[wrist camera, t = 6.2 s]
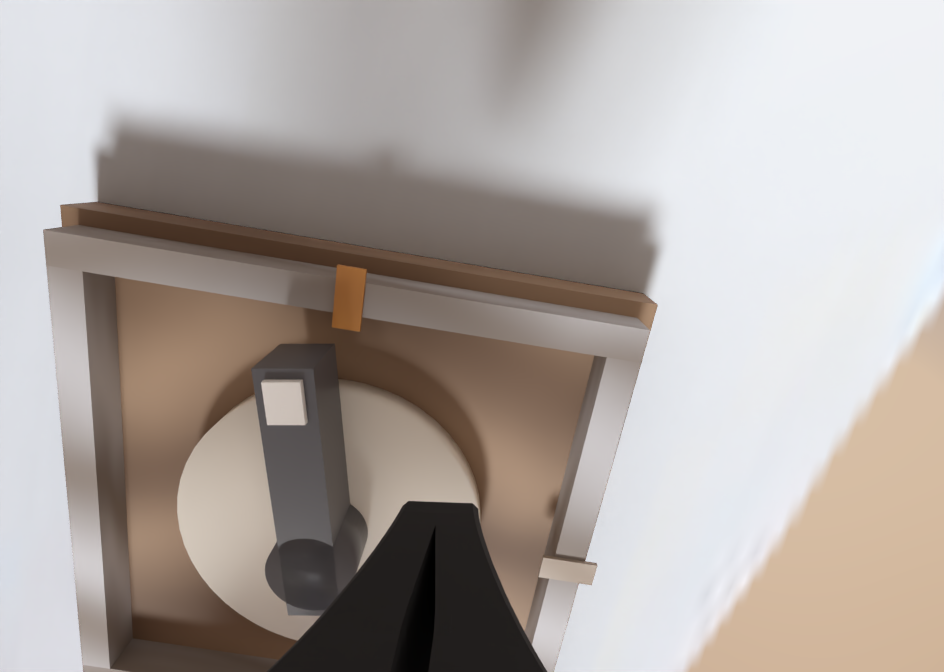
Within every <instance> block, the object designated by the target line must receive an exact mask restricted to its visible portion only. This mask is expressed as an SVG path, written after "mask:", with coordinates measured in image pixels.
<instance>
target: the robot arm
mask: <svg viewBox="0 0 944 672" xmlns="http://www.w3.org/2000/svg"><path fill="white" fill-rule="evenodd" d="M267 672H547V670H546V669H545V667H544V665H543V664H542V662H541V660H540V659H539V657H538V655H537V653H536V652H535V650H534V648H533V646H532V645H531V643H530V641H529V639H528V637H527V635H526V633H525V632H524V630H523V628H522V626H521V624H520V622H519V620H518V618H517V616H516V614H515V612H514V610H513V608H512V606H511V604H510V602H509V599H508V597H507V595H506V593H505V591H504V589H503V586H502V584H501V581H500V579H499V577H498V574H497V572H496V570H495V567H494V565H493V562H492V559H491V557H490V554H489V551H488V548H487V545H486V542H485V539H484V536H483V532H482V529H481V524H480V519H479V513H478V508H477V507H476V506H475V505H474V504H473V503H453V502H424V501H408V502H407V503H405V504H404V505H403V506H402V508H401V510H400V511H399V513H398V515H397V516H396V518H395V519H394V521H393V523H392V524H391V526H390V527H389V529H388V530H387V532H386V533H385V535H384V536H383V538H382V539H381V540H380V542H379V543H378V545H377V546H376V548H375V549H374V550H373V552H372V553H371V554H370V556H369V557H368V558H367V560H366V561H365V562H364V564H363V565H362V566H361V568H360V569H359V570H358V572H357V573H356V574H355V575H354V577H353V578H352V579H351V581H350V582H349V583H348V584H347V585H346V587H345V588H344V589H343V590H342V591H341V593H340V594H339V595H338V596H337V597H336V598H335V600H334V601H333V602H332V603H331V604H330V605H329V607H328V608H327V609H326V610H325V611H324V612H323V614H322V615H321V616H320V617H319V618H318V619H317V620H316V622H315V623H314V624H313V625H312V626H311V627H310V628H309V629H308V630H307V631H306V632H305V633H304V634H303V636H302V637H301V638H300V639H299V640H298V641H297V642H296V643H295V644H294V645H293V646H292V647H291V648H290V649H289V650H288V651H287V652H286V653H285V654H284V655H283V656H282V657H281V658H280V659H279V660H278V661H277V662H276V663H275V664H274V665H273V666H272V667H271V668H270V669H269V670H268V671H267Z"/></svg>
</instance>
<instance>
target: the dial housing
mask: <svg viewBox="0 0 944 672" xmlns="http://www.w3.org/2000/svg"><path fill="white" fill-rule="evenodd" d="M60 207H61V219H62V227H60V228H52V229H45V230H43V233H44V244H45V255H46V266H47V277H48V288H49V299H50V310H51V321H52V333H53V344H54V355H55V366H56V377H57V388H58V399H59V410H60V421H61V432H62V443H63V454H64V465H65V476H66V487H67V498H68V509H69V520H70V531H71V542H72V553H73V564H74V575H75V586H76V597H77V608H78V619H79V630H80V641H81V652H82V663H83V672H267V671H268V670H269V669H270V668H271V667H272V666H273V665H274V664H275V663H276V662H277V661H278V660H279V659H280V658H281V657H282V656H283V655H284V654H285V653H286V652H287V651H288V650H289V649H290V648H291V647H292V646H293V645H294V644H295V643H296V642H297V641H298V640H294V639H290V638H287V637H284V636H282V635H279V634H276V633H274V632H271V631H269V630H267V629H265V628H263V627H261V626H259V625H257V624H255V623H253V622H251V621H250V620H248V619H247V618H245V617H244V616H242V615H240V614H239V613H238V612H236V611H235V610H234V609H232V608H231V607H230V606H229V605H227V604H226V603H225V602H224V601H223V600H222V599H221V598H220V597H219V596H218V595H217V594H216V593H215V592H214V591H213V590H212V589H211V588H210V587H209V586H208V584H207V583H206V582H205V581H204V579H203V578H202V577H201V576H200V574H199V572H198V571H197V569H196V568H195V566H194V564H193V563H192V561H191V559H190V557H189V555H188V552H187V550H186V548H185V546H184V543H183V539H182V536H181V532H180V529H179V522H178V515H177V495H178V489H179V484H180V479H181V476H182V473H183V470H184V467H185V464H186V462H187V460H188V458H189V457H190V455H191V453H192V451H193V449H194V448H195V446H196V445H197V444H198V443H199V441H200V440H201V439H202V437H203V436H204V435H205V434H206V433H207V432H208V431H209V430H210V429H211V428H212V427H213V426H214V425H215V424H216V423H217V422H218V421H220V420H221V419H222V418H223V417H224V416H225V415H226V414H227V413H228V412H229V411H230V410H231V409H232V408H233V407H235V406H236V405H238V404H239V403H241V402H242V401H244V400H245V399H247V398H248V397H250V396H252V395H254V394H255V392H254V385H253V378H252V372H251V368H252V367H254V366H255V365H256V364H257V363H258V362H259V361H261V360H262V359H263V358H264V357H265V356H267V355H268V354H269V353H270V352H271V351H272V350H274V349H275V348H276V347H277V346H278V345H279V344H335V350H336V361H337V371H338V379H344V380H349V381H355V382H360V383H365V384H368V385H371V386H375V387H378V388H381V389H384V390H386V391H389V392H391V393H393V394H395V395H398V396H400V397H402V398H404V399H405V400H407V401H409V402H411V403H412V404H414V405H416V406H417V407H419V408H420V409H422V410H423V411H424V412H425V413H427V414H428V415H429V416H431V417H432V418H433V419H435V420H436V421H437V422H438V423H439V424H440V425H441V426H442V427H443V428H444V429H445V430H446V431H447V432H448V433H449V435H450V436H451V437H452V439H453V440H454V441H455V442H456V444H457V445H458V446H459V448H460V449H461V451H462V453H463V454H464V456H465V458H466V460H467V461H468V463H469V465H470V468H471V470H472V473H473V475H474V478H475V481H476V485H477V489H478V493H479V500H480V524H481V529H482V532H483V536H484V539H485V542H486V545H487V548H488V551H489V554H490V557H491V559H492V562H493V565H494V567H495V570H496V572H497V574H498V577H499V579H500V581H501V584H502V586H503V589H504V591H505V593H506V595H507V597H508V599H509V602H510V604H511V606H512V608H513V610H514V612H515V614H516V616H517V618H518V620H519V622H520V624H521V626H522V628H523V630H524V632H525V633H526V635H527V637H528V639H529V641H530V643H531V645H532V646H533V648H534V650H535V652H536V653H537V655H538V657H539V659H540V660H541V662H542V664H543V665H544V667H545V669H546V670H547V672H554V669H555V665H556V662H557V658H558V655H559V651H560V648H561V644H562V640H563V637H564V633H565V630H566V626H567V623H568V619H569V616H570V612H571V609H572V605H573V602H574V598H575V595H576V591H577V588H578V584H579V583H581V584H587V585H592V582H593V579H594V575H595V572H596V568H597V563H592V562H585V559H586V556H587V552H588V549H589V545H590V542H591V538H592V535H593V531H594V528H595V524H596V521H597V517H598V514H599V510H600V506H601V503H602V499H603V496H604V492H605V489H606V485H607V482H608V478H609V475H610V471H611V468H612V464H613V461H614V457H615V454H616V450H617V447H618V443H619V439H620V436H621V432H622V429H623V425H624V422H625V418H626V415H627V411H628V408H629V404H630V401H631V397H632V394H633V390H634V387H635V383H636V380H637V376H638V372H639V369H640V365H641V362H642V358H643V355H644V351H645V348H646V344H647V341H648V337H649V334H650V330H651V327H652V323H653V320H654V316H655V313H656V309H657V304H656V303H655V302H653V301H652V300H651V299H650V298H648V297H647V296H646V295H645V294H643V293H637V292H631V291H625V290H619V289H613V288H607V287H601V286H595V285H589V284H583V283H577V282H571V281H565V280H559V279H554V278H548V277H542V276H536V275H530V274H524V273H518V272H512V271H506V270H500V269H494V268H488V267H482V266H476V265H470V264H464V263H458V262H452V261H446V260H440V259H434V258H428V257H422V256H416V255H410V254H404V253H398V252H392V251H386V250H380V249H374V248H369V247H363V246H357V245H351V244H345V243H339V242H333V241H327V240H321V239H315V238H309V237H303V236H297V235H291V234H285V233H279V232H273V231H267V230H261V229H255V228H249V227H243V226H237V225H231V224H225V223H219V222H213V221H207V220H201V219H195V218H189V217H183V216H178V215H172V214H166V213H160V212H154V211H148V210H142V209H136V208H130V207H124V206H118V205H112V204H106V203H100V202H90V203H78V204H66V205H60Z"/></svg>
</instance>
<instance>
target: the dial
mask: <svg viewBox="0 0 944 672" xmlns="http://www.w3.org/2000/svg"><path fill="white" fill-rule="evenodd" d="M251 372H252V378H253V385H254V392H255V394H254V395H252V396H250V397H248V398H247V399H245V400H244V401H242V402H241V403H239V404H238V405H236V406H235V407H233V408H232V409H231V410H230V411H229V412H228V413H227V414H226V415H225V416H224V417H223V418H222V419H221V420H220V421H218V422H217V423H216V424H215V425H214V426H213V427H212V428H211V429H210V430H209V431H208V432H207V433H206V434H205V435H204V436H203V437H202V439H201V440H200V441H199V443H198V444H197V445H196V446H195V448H194V449H193V451H192V453H191V455H190V457H189V458H188V460H187V462H186V464H185V467H184V470H183V473H182V476H181V479H180V484H179V489H178V495H177V515H178V522H179V529H180V532H181V536H182V539H183V543H184V546H185V548H186V550H187V552H188V555H189V557H190V559H191V561H192V563H193V564H194V566H195V568H196V569H197V571H198V572H199V574H200V576H201V577H202V578H203V579H204V581H205V582H206V583H207V584H208V586H209V587H210V588H211V589H212V590H213V591H214V592H215V593H216V594H217V595H218V596H219V597H220V598H221V599H222V600H223V601H224V602H225V603H226V604H227V605H229V606H230V607H231V608H232V609H234V610H235V611H236V612H238V613H239V614H240V615H242V616H244V617H245V618H247V619H248V620H250V621H251V622H253V623H255V624H257V625H259V626H261V627H263V628H265V629H267V630H269V631H271V632H274V633H276V634H279V635H282V636H284V637H287V638H290V639H294V640H299V639H300V638H301V637H302V636H303V634H304V633H305V632H306V631H307V630H308V629H309V628H310V627H311V626H312V625H313V624H314V623H315V622H316V620H317V619H318V618H319V617H320V616H321V615H322V614H323V612H324V611H325V610H326V609H327V608H328V607H329V605H330V604H331V603H332V602H333V601H334V600H335V598H336V597H337V596H338V595H339V594H340V593H341V591H342V590H343V589H344V588H345V587H346V585H347V584H348V583H349V582H350V581H351V579H352V578H353V577H354V575H355V574H356V573H357V572H358V570H359V569H360V568H361V566H362V565H363V564H364V562H365V561H366V560H367V558H368V557H369V556H370V554H371V553H372V552H373V550H374V549H375V548H376V546H377V545H378V543H379V542H380V540H381V539H382V538H383V536H384V535H385V533H386V532H387V530H388V529H389V527H390V526H391V524H392V523H393V521H394V519H395V518H396V516H397V515H398V513H399V511H400V510H401V508H402V506H403V505H404V504H405V503H407V502H408V501H424V502H453V503H473V504H474V505H475V506H476V507H477V508H478V513H479V519H480V500H479V493H478V489H477V485H476V481H475V478H474V475H473V473H472V470H471V468H470V465H469V463H468V461H467V460H466V458H465V456H464V454H463V453H462V451H461V449H460V448H459V446H458V445H457V444H456V442H455V441H454V440H453V439H452V437H451V436H450V435H449V433H448V432H447V431H446V430H445V429H444V428H443V427H442V426H441V425H440V424H439V423H438V422H437V421H436V420H435V419H433V418H432V417H431V416H429V415H428V414H427V413H425V412H424V411H423V410H422V409H420V408H419V407H417V406H416V405H414V404H412V403H411V402H409V401H407V400H405V399H404V398H402V397H400V396H398V395H395V394H393V393H391V392H389V391H386V390H384V389H381V388H378V387H375V386H371V385H368V384H365V383H360V382H355V381H349V380H344V379H338V371H337V361H336V350H335V344H279V345H278V346H277V347H276V348H275V349H274V350H272V351H271V352H270V353H269V354H268V355H267V356H265V357H264V358H263V359H262V360H261V361H259V362H258V363H257V364H256V365H255V366H254V367H252V368H251Z"/></svg>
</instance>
